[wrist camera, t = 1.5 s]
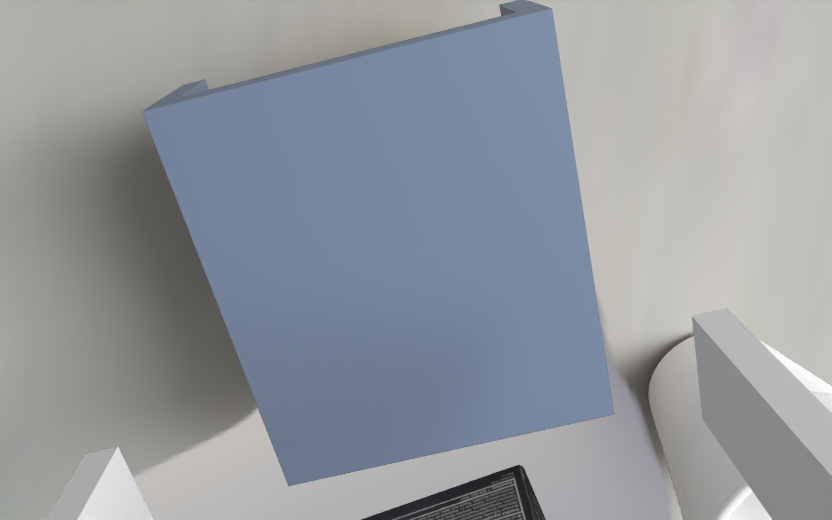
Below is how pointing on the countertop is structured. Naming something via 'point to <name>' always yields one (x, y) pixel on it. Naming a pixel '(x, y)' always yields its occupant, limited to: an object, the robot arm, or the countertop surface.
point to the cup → (706, 439)
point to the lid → (397, 243)
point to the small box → (475, 501)
